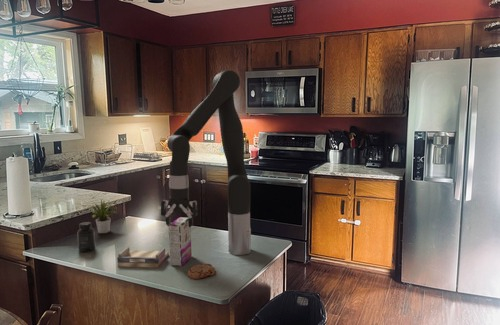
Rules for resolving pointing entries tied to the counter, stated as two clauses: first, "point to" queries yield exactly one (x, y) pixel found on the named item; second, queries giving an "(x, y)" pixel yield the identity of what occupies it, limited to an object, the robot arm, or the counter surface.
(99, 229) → the house plant
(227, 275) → the counter surface
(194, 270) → the cookie
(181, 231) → the candy bar box
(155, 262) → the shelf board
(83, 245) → the supplement bottle
